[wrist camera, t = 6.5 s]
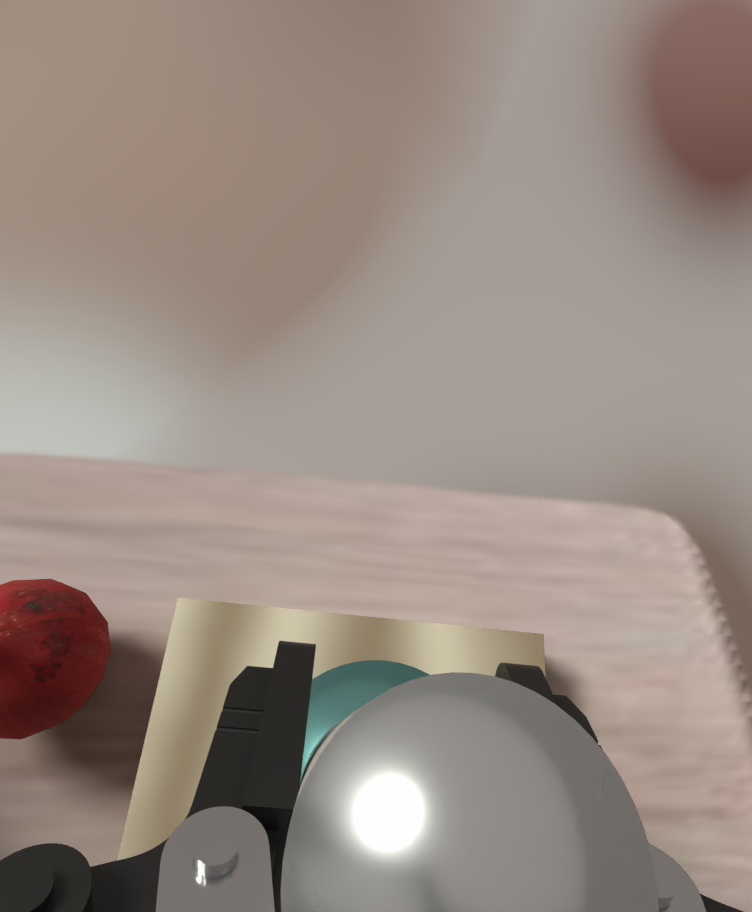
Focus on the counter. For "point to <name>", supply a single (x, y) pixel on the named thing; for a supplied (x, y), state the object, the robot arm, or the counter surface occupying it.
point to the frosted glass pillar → (456, 802)
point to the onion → (47, 654)
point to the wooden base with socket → (255, 644)
